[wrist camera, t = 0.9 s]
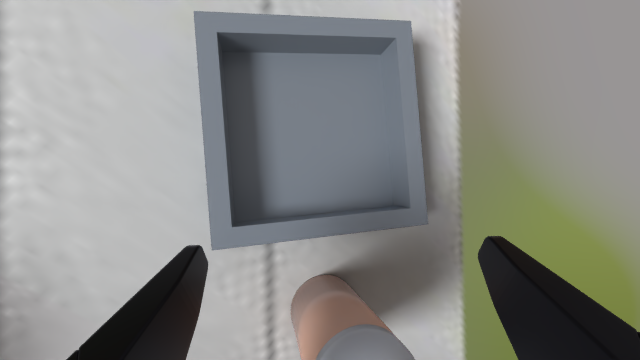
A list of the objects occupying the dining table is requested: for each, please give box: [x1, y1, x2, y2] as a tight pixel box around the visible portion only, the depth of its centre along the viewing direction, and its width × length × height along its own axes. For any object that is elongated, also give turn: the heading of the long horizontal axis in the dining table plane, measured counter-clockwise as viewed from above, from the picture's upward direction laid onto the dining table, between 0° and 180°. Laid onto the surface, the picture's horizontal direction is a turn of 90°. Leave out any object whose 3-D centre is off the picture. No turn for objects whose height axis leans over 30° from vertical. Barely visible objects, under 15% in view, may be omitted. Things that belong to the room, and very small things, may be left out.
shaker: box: [291, 275, 415, 360], centre depth 17 cm, size 5×5×9 cm
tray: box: [194, 11, 428, 250], centre depth 20 cm, size 14×14×4 cm
